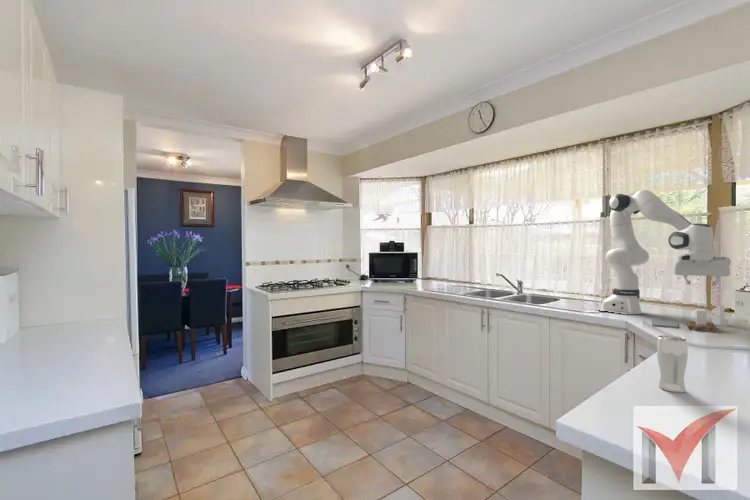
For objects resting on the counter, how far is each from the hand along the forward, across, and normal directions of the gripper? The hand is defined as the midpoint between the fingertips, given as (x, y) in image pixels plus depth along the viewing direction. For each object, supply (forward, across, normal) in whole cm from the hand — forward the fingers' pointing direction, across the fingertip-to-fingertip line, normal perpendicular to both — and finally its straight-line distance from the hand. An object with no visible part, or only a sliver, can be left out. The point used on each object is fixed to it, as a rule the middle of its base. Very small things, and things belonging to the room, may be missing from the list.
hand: (701, 284), depth 176 cm
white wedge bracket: (+22, -9, -16) cm, 28 cm away
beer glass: (+21, +18, +100) cm, 104 cm away
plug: (+21, 0, 0) cm, 21 cm away
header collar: (+21, 0, 0) cm, 21 cm away
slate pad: (+21, +14, 0) cm, 26 cm away
